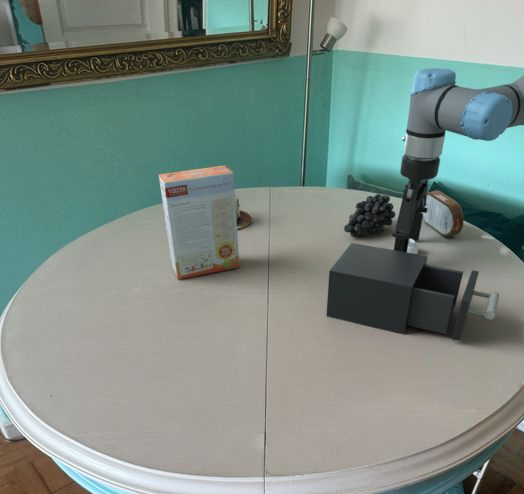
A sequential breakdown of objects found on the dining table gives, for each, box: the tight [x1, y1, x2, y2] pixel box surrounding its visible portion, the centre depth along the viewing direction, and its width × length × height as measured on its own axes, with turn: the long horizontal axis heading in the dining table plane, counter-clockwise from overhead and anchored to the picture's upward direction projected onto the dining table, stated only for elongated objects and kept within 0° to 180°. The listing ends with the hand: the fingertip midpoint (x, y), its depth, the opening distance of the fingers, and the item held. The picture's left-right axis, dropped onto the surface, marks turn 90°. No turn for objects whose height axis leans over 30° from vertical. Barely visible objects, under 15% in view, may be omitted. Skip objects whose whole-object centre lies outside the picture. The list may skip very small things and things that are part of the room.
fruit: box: [343, 193, 396, 238], centre depth 125 cm, size 9×8×15 cm
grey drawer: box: [406, 264, 500, 342], centre depth 92 cm, size 18×11×8 cm, turn 64°
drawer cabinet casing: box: [326, 242, 429, 335], centre depth 96 cm, size 15×13×10 cm
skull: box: [235, 195, 253, 229], centre depth 133 cm, size 12×10×10 cm
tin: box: [421, 189, 464, 238], centre depth 125 cm, size 15×3×8 cm, turn 16°
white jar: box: [407, 239, 419, 254], centre depth 117 cm, size 5×3×5 cm
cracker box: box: [158, 164, 240, 280], centre depth 107 cm, size 14×6×21 cm, turn 110°
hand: (405, 251), depth 118 cm, fingers open, 13 cm apart
